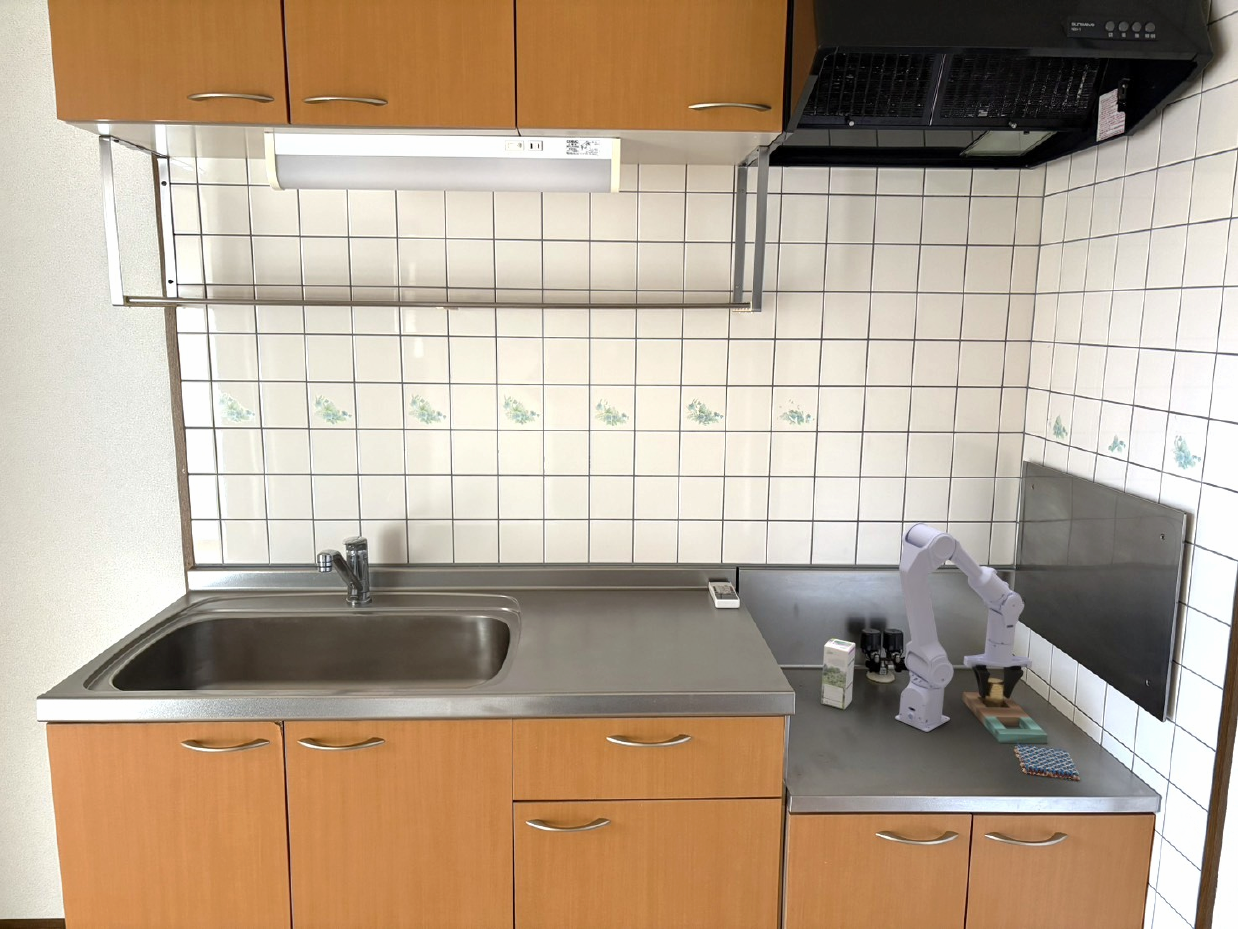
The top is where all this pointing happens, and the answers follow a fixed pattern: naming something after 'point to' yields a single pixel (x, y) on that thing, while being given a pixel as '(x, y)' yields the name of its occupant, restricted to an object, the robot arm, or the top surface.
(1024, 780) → the top surface
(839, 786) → the top surface
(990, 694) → the brass pin
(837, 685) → the syrup box
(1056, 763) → the woven mat
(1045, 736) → the docking plate
